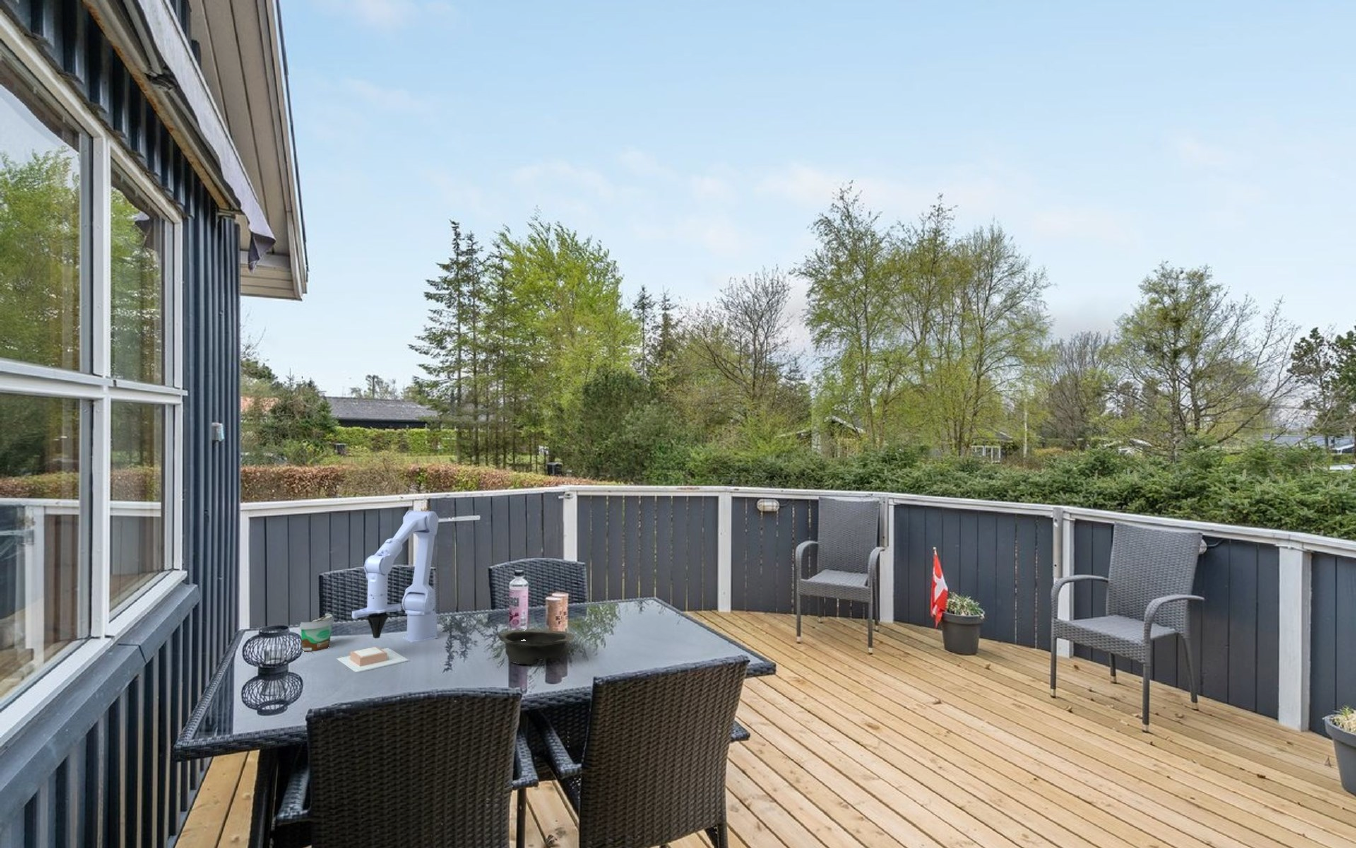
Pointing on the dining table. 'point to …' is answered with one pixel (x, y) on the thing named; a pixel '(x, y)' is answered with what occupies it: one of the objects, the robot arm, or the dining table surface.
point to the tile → (368, 656)
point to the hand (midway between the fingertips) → (376, 637)
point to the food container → (316, 633)
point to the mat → (391, 660)
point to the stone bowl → (534, 645)
